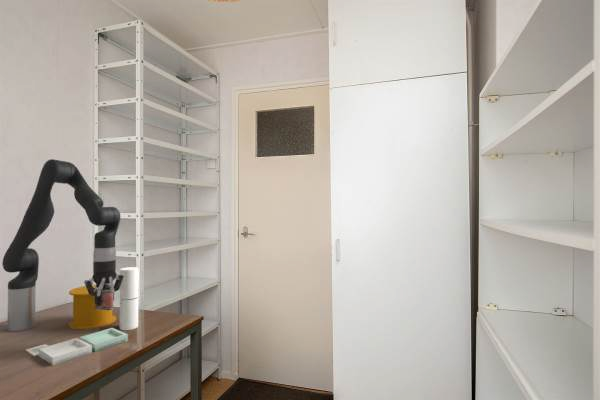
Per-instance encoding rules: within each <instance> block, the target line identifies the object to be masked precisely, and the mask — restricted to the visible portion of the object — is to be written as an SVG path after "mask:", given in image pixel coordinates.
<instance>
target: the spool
mask: <svg viewBox="0 0 600 400" xmlns="http://www.w3.org/2000/svg"><path fill="white" fill-rule="evenodd" d="M95 285H96V284H92V286H93V289H94V291H95ZM68 295H70V296H72V297H73V298H72V299H73V301H72V304H73V305H72V320H71V321H70V322H69V323H68V327H69V329H73V330H91V329H98V328H101V327H102V328H103V327H105V326H108V325H111V324H113V323H114V322H116V320H117V316H116V315H114V314H113V310H98V309H95V296H92V295H90V294H89V293H88V290H87V288H86V285H83V286H79V287H75V288H72V289H70V290H69V292H68Z"/></svg>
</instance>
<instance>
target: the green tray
mask: <svg viewBox="0 0 600 400" xmlns="http://www.w3.org/2000/svg"><path fill="white" fill-rule="evenodd" d="M79 339H80V340H82V341H84V342H86V343H88V344H90V345H92V352H98V351H101V350H104V349H107V348H111V347H113V346H116V345H119V344H123V343H125V342H129V333H126V332H123V331H122V330H120V329H119V330H118V329H116V328H114V327H110V328H107V329H103V330H99V331H95V332H92V333H88V334H85V335H82V336H79Z"/></svg>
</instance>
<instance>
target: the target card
mask: <svg viewBox="0 0 600 400" xmlns="http://www.w3.org/2000/svg"><path fill="white" fill-rule="evenodd" d="M47 346H49V345H48V344H46V343H45V344H42V345H37V346H34V347H30V348H26V349H25V351H26V352H27V353H29V354H30V355H31V356H34V357H37V356H39V349H40V348H43V347H47Z"/></svg>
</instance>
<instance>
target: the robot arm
mask: <svg viewBox="0 0 600 400" xmlns="http://www.w3.org/2000/svg"><path fill="white" fill-rule="evenodd" d="M54 184H63V185H65V184H66V185H68V186H70V187H71V188H72V189H74V191H73V192H74V193H73V195H74V199H75V201H76V202H77V203H78V204H79V205H80V206H81V207H82V209H84V212H85V213H86V215H87V218H88V221H89V222H90V223H91V224H93V225H95V226H98V227H99V226H104V227H103V229H102V230H101V231H97V232H95V234H94V237H93V238H94V239H93V242H94V243H93V245H94V246H93V255H92V256H93V261H92V262H93V263H92V264H93V265H92V271H93V272H92V273H93V274H92V277H91V278H90V279H87V280H86V279H85V280H83V281H84V282H83V283H84V286H86V288H87V290H88V293H89V294H90V295H92V296H95V304H96V305H97V306H100V305H101V296H100V294H101V290H102V289H103V286H104V283H105V284H107V283H110V284H111V287H110V289H111V288H112V289H114V292H113V302H114V301H115V293H116V292H118V291H120V286H121V283H122V280H123V275H120V274H117V272H116V269H117V251H116V250H117V249H116V236H117V232H118V229H119V227H120V226H119V225H120V222H121V213H120V210H119V209H118V208H117V207H115V206H104V201H103V199H102V198H101V197H100V196H99V195H98V194H97V193H96V192H95V191H94V190H93V188H91V186H89V184H88V182H87V180H86V179H85V178H84V176H83V175H82V173H81V172H80V170H79V169H78V168H77V166H76V165H75V164H73V163H72V162H70V161H65V160H64V161H63V160H59V159H48V160H46V161H45V163H44V164H43V166H42V168H41V170H40V174H39V178H38V181H37V184H36V187H35V190H34V193H33V196H32V198H31V200H30V203H29V205H28V207H27V209H26V211H25V214H24V216H23V217H22V221H21V223H20V226H19V228H18V229H17V232H16V234H15V236H14V238H13V240H12V242H11V243H10V244H9V247H7V250H6V251H5V253H4V256H3V258H2V268H3V270H4V271H5V272H7V273H11V274H12V273H18V274H17V275H16V276H15V277H14V278H13V279H11V280H9V281H8V283H7V321H6V322H7V324H6V330H7V331H9V332H19V331H25V330H28V329H32V328H34V327H35V326H36V290H37V289H36V288H37V287H36V286H37V285H36V284H37V280H38V277H39V267H40V266H39V264H40V263H39V262H40V259H39V257H40V256H39V253H38V251H36V249H34V248H31V247H30V248H29V246H30V245H31V244H32V243H33V242H34V241H35V240H36V239H38V238H39V236H41V235H42V234H43V233H44V232H45V231H46V230H47V229H48V228H49V227H50V224H51V222H52V219H53V217H54V215H55V208H54V204H53V201H52V197H51V193H52V189H53V187H54ZM114 281H115V282H114ZM94 283H95V284H94ZM92 285H95V291H94V289H93V286H92Z"/></svg>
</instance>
